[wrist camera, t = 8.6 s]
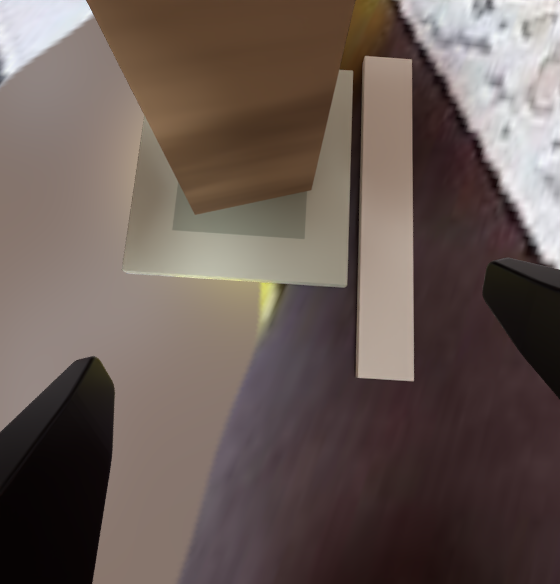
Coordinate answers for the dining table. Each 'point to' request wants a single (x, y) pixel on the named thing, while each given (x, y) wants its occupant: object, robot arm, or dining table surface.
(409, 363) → the strip
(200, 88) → the block
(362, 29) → the dining table surface
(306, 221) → the pad
